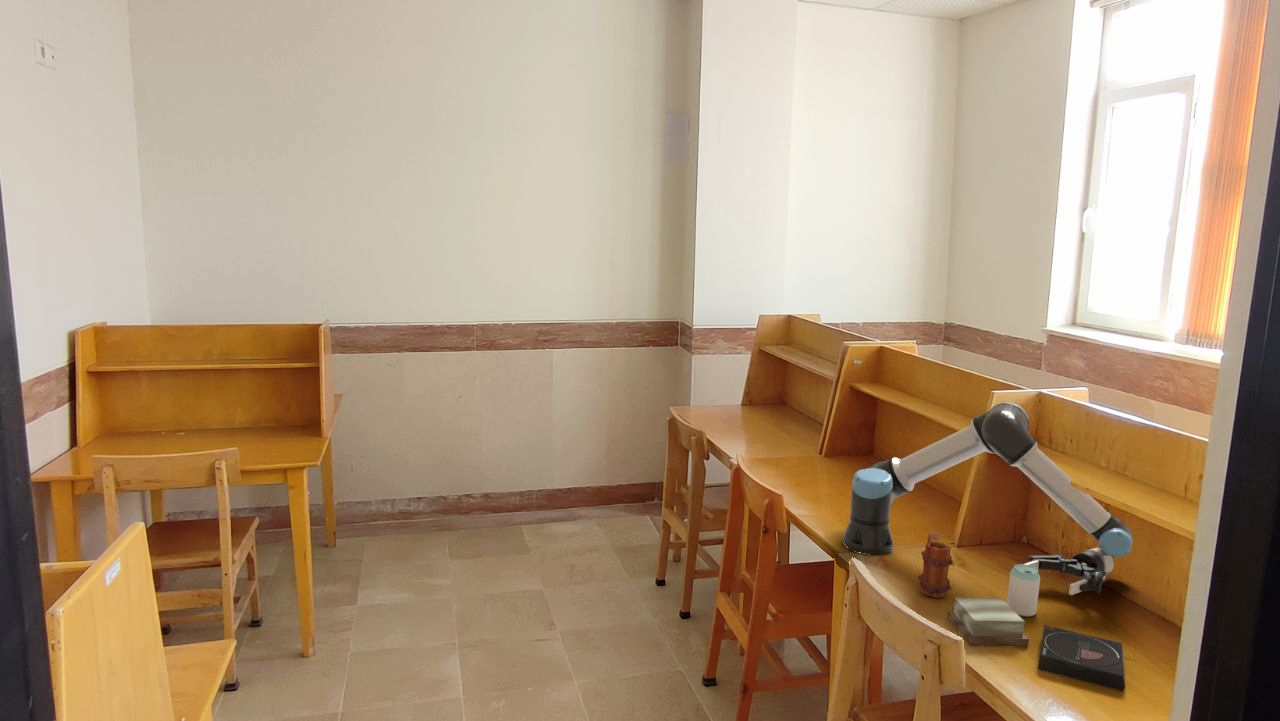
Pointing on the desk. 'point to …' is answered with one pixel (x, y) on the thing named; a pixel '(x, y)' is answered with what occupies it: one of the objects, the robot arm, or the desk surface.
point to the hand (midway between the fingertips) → (1046, 579)
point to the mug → (935, 567)
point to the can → (1023, 590)
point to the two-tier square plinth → (988, 622)
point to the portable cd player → (1082, 657)
